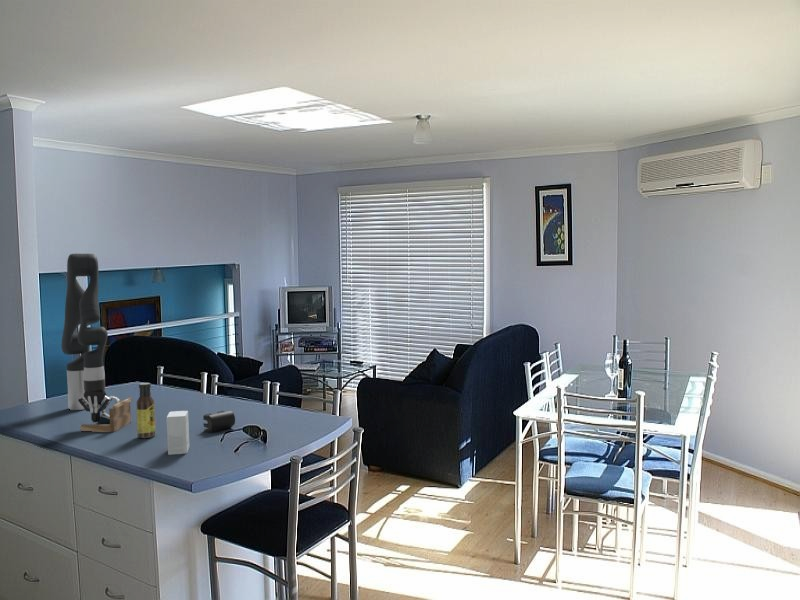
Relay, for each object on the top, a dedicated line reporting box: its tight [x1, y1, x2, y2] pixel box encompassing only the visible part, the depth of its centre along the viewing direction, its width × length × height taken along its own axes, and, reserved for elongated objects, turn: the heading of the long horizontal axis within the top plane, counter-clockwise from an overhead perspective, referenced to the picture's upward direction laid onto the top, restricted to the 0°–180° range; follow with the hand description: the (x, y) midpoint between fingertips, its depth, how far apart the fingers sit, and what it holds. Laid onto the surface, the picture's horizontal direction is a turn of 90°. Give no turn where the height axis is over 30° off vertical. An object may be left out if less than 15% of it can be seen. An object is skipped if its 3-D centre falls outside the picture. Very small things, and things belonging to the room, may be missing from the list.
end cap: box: [202, 410, 236, 433], centre depth 256 cm, size 10×7×7 cm
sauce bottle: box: [136, 382, 156, 439], centre depth 247 cm, size 6×6×20 cm
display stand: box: [80, 397, 133, 433], centre depth 262 cm, size 14×14×10 cm
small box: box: [165, 410, 190, 456], centre depth 230 cm, size 8×6×13 cm
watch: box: [97, 395, 122, 424], centre depth 265 cm, size 6×8×11 cm
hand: (95, 421), depth 262 cm, fingers closed
